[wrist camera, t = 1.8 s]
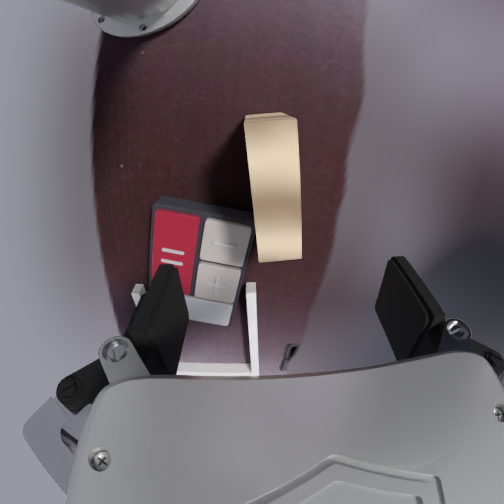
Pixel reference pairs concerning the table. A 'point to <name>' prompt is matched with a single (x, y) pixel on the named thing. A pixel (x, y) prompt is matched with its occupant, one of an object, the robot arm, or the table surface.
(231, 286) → the calculator
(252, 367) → the bay
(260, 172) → the block
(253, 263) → the table surface
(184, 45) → the table surface
